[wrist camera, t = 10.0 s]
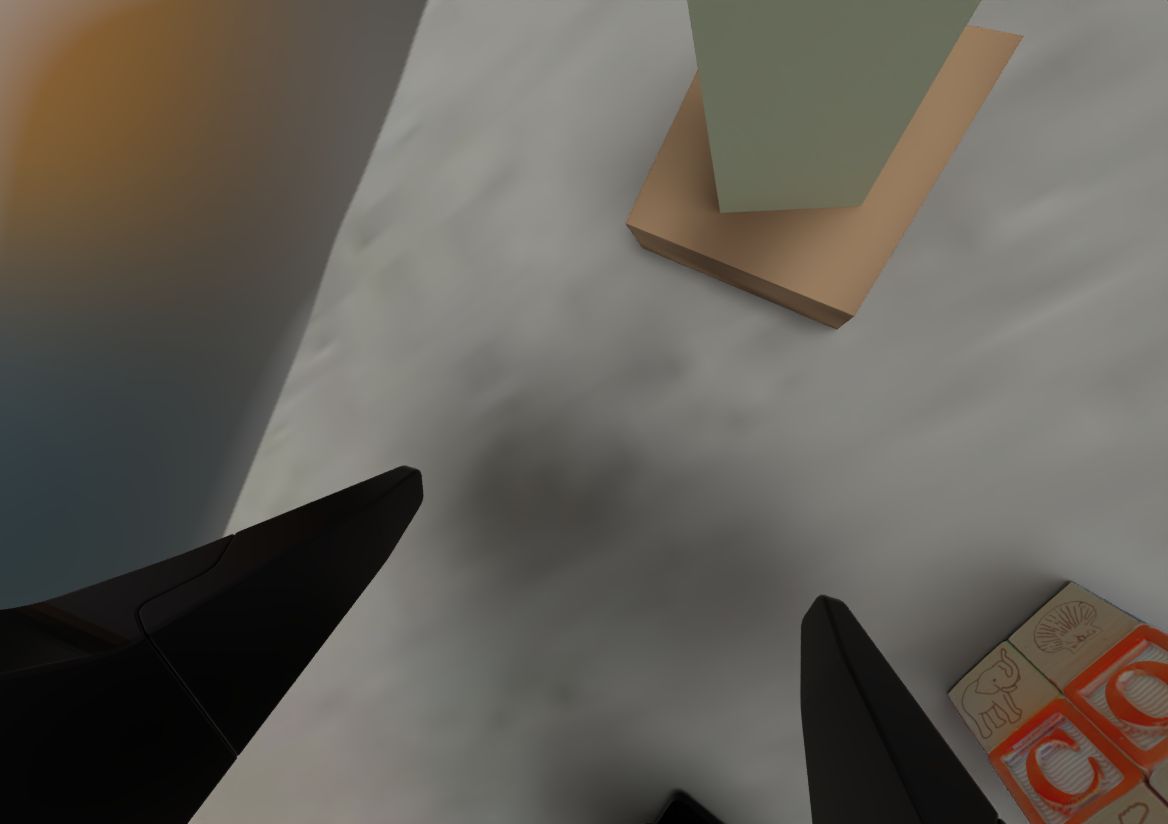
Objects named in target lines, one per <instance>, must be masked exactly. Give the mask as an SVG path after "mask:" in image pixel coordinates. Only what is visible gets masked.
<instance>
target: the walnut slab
mask: <svg viewBox="0 0 1168 824" xmlns="http://www.w3.org/2000/svg"><path fill="white" fill-rule="evenodd" d="M1022 38H1023V36H1022V35H1017V34H1011V33H1006V32H1001V31H996V30H991V29H985V28H980V27H975V26H970V25H966V27H965V29H964V30H963V32H962V34H961V35H960V37H959V39H958V41H957V42H956V44H955V46H954V47H953V49H952V51H951V53H950V54H949V56H948V58H947V59H946V61H945V63H944V65H943V66H942V68H941V70H940V71H939V73H938V75H937V77H936V78H935V80H934V82H933V83H932V85H931V87H930V89H929V90H928V92H927V94H926V96H925V97H924V99H923V101H922V102H921V104H920V106H919V108H918V109H917V111H916V113H915V114H914V116H913V118H912V120H911V121H910V123H909V125H908V126H907V128H906V130H905V132H904V133H903V135H902V137H901V138H900V140H899V142H898V144H897V145H896V147H895V149H894V150H893V152H892V154H891V156H890V157H889V159H888V161H887V162H886V164H885V166H884V168H883V169H882V171H881V173H880V174H879V176H878V178H877V180H876V181H875V183H874V185H873V186H872V188H871V190H870V192H869V193H868V195H867V197H866V198H865V200H864V202H863V204H862V205H861V206H852V207H832V208H812V209H791V210H771V211H751V212H731V213H720V208H719V202H718V195H717V189H716V182H715V176H714V169H713V163H712V157H711V150H710V144H709V137H708V131H707V124H706V118H705V111H704V105H703V99H702V92H701V86H700V79H699V73H698V71H697V73H696V75H695V77H694V79H693V81H692V83H691V86H690V88H689V90H688V92H687V94H686V96H685V98H684V100H683V102H682V105H681V107H680V109H679V111H678V113H677V115H676V117H675V119H674V122H673V124H672V126H671V128H670V130H669V132H668V134H667V136H666V138H665V141H664V143H663V145H662V147H661V149H660V151H659V153H658V155H657V157H656V160H655V162H654V164H653V166H652V168H651V170H650V172H649V174H648V176H647V179H646V181H645V183H644V185H643V187H642V189H641V191H640V193H639V196H638V198H637V200H636V202H635V204H634V206H633V208H632V210H631V212H630V215H629V217H628V219H627V221H626V225H627V226H628V228H629V229H630V230H631V232H632V233H633V235H634V236H635V237H636V239H637V240H638V242H639V243H640V245H641V246H642V247H643V248H645V249H647V250H650V251H652V252H654V253H657V254H659V255H662V256H664V257H666V258H669V259H671V260H673V261H676V262H678V263H681V264H683V265H685V266H688V267H690V268H693V269H695V270H697V271H700V272H702V273H704V274H707V275H709V276H712V277H714V278H716V279H719V280H721V281H724V282H726V283H728V284H731V285H733V286H735V287H738V288H740V289H743V290H745V291H747V292H750V293H752V294H755V295H757V296H759V297H762V298H764V299H766V300H769V301H771V302H774V303H776V304H778V305H781V306H783V307H786V308H788V309H790V310H793V311H795V312H797V313H800V314H802V315H805V316H807V317H809V318H812V319H814V320H817V321H819V322H821V323H824V324H826V325H828V326H831V327H833V328H836V329H838V328H840V327H841V326H842V325H843V324H845V323H846V322H847V321H849V320H850V319H851V318H852V317H854V316H855V314H856V312H857V311H858V309H859V307H860V306H861V304H862V302H863V301H864V299H865V298H866V296H867V294H868V293H869V291H870V289H871V288H872V286H873V284H874V283H875V281H876V279H877V278H878V276H879V274H880V273H881V271H882V269H883V268H884V266H885V264H886V263H887V261H888V260H889V258H890V256H891V255H892V253H893V251H894V250H895V248H896V246H897V245H898V243H899V241H900V240H901V238H902V236H903V235H904V233H905V231H906V230H907V228H908V226H909V225H910V223H911V221H912V220H913V218H914V217H915V215H916V213H917V212H918V210H919V208H920V207H921V205H922V203H923V202H924V200H925V198H926V197H927V195H928V193H929V192H930V190H931V188H932V187H933V185H934V183H935V182H936V180H937V179H938V177H939V175H940V174H941V172H942V170H943V169H944V167H945V165H946V164H947V162H948V160H949V159H950V157H951V155H952V154H953V152H954V150H955V149H956V147H957V145H958V144H959V142H960V140H961V139H962V137H963V136H964V134H965V132H966V131H967V129H968V127H969V126H970V124H971V122H972V121H973V119H974V117H975V116H976V114H977V112H978V111H979V109H980V107H981V106H982V104H983V102H984V101H985V99H986V98H987V96H988V94H989V93H990V91H991V89H992V88H993V86H994V84H995V83H996V81H997V79H998V78H999V76H1000V74H1001V73H1002V71H1003V69H1004V68H1005V66H1006V64H1007V63H1008V61H1009V59H1010V58H1011V56H1012V55H1013V53H1014V51H1015V50H1016V48H1017V46H1018V45H1019V43H1020V41H1021V40H1022Z"/></svg>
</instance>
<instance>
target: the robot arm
mask: <svg viewBox="0 0 1168 824" xmlns="http://www.w3.org/2000/svg"><path fill="white" fill-rule="evenodd" d="M422 501H423V485H422V475H421V472H420V471H419V470H418V469H415V468H412V467H409V466H400V467H397V468H395V469H393V470H390V471H388V472H385V473H383V474H380V475H378V476H375V477H373V478H370V479H368V480H365V481H363V482H360V483H358V484H355V485H353V486H350V487H348V488H345V489H343V490H341V491H338V492H336V493H333V494H331V495H328V496H326V497H323V498H321V499H318V500H316V501H313V502H311V503H308V504H306V505H303V506H301V507H298V508H296V509H293V510H291V511H289V512H286V513H284V514H281V515H279V516H276V517H274V518H271V519H269V520H266V521H264V522H261V523H259V524H256V525H254V526H251V527H249V528H246V529H244V530H241V531H239V532H237V533H236V534H235V535H234V534H231V535H229V536H226V537H224V538H221V539H219V540H216V541H214V542H212V543H209V544H206V545H204V546H201V547H199V548H196V549H193V550H191V551H188V552H186V553H184V554H181V555H178V556H175V557H172V558H169V559H167V560H164V561H161V562H158V563H155V564H152V565H150V566H147V567H144V568H141V569H138V570H135V571H133V572H129V573H127V574H124V575H120V576H118V577H114V578H112V579H109V580H106V581H103V582H100V583H97V584H94V585H91V586H88V587H85V588H82V589H79V590H76V591H74V592H70V593H68V594H65V595H62V596H59V597H56V598H53V599H49V600H46V601H42V602H38V603H34V604H30V605H26V606H21V607H16V608H9V609H1V610H0V824H188V822H189V821H190V820H191V818H192V817H193V816H194V814H195V813H196V812H197V811H198V809H199V808H200V807H201V805H202V804H203V803H204V801H205V800H206V799H207V797H208V796H209V795H210V793H211V792H212V791H213V789H214V788H215V787H216V785H217V784H218V783H219V782H220V780H221V779H222V778H223V776H224V775H225V774H226V772H227V771H228V770H229V768H230V767H231V766H232V764H233V763H234V762H235V760H236V759H237V756H238V755H240V753H241V752H242V751H243V749H244V748H245V747H246V745H247V744H248V743H249V741H250V740H251V739H252V738H253V736H254V735H255V734H256V732H257V731H258V730H259V728H260V727H261V726H262V724H263V723H264V722H265V720H266V719H267V718H268V716H269V715H270V714H271V712H272V711H273V710H274V709H275V707H276V706H277V705H278V703H279V702H280V701H281V699H282V698H283V697H284V695H285V694H286V693H287V691H288V690H289V689H290V687H291V686H292V685H293V683H294V682H295V681H296V680H297V678H298V677H299V676H300V674H301V673H302V672H303V670H304V669H305V668H306V666H307V665H308V664H309V662H310V661H311V660H312V658H313V657H314V656H315V654H316V653H317V652H318V651H319V649H320V648H321V647H322V645H323V644H324V643H325V641H326V640H327V639H328V637H329V636H330V635H331V633H332V632H333V631H334V629H335V628H336V627H337V625H338V624H339V623H340V622H341V620H342V619H343V618H344V616H345V615H346V614H347V612H348V611H349V610H350V608H351V607H352V606H353V604H354V603H355V602H356V600H357V599H358V598H359V596H360V595H361V594H362V593H363V591H364V590H365V589H366V587H367V586H368V585H369V583H370V582H371V581H372V579H373V578H374V577H375V575H376V574H377V573H378V571H379V570H380V569H381V567H382V566H383V565H384V563H385V562H386V561H387V559H388V558H389V556H390V555H391V553H392V551H393V550H394V548H395V547H396V545H397V543H398V542H399V540H400V538H401V537H402V535H403V533H404V532H405V530H406V528H407V527H408V525H409V524H410V522H411V520H412V519H413V517H414V515H415V514H416V512H417V510H418V509H419V507H420V505H421V503H422ZM800 694H801V716H802V727H803V737H804V746H805V756H806V765H807V775H808V785H809V794H810V804H811V813H812V823H813V824H1006V823H1005V822H1004V821H1003V820H1002V819H998V813H997V811H996V810H995V809H994V807H993V806H992V805H991V803H990V802H989V800H988V799H987V798H986V796H985V795H984V794H983V792H982V791H981V789H980V788H979V787H978V785H977V784H976V783H975V781H974V780H973V778H972V777H971V776H970V774H969V773H968V772H967V770H966V769H965V767H964V766H963V765H962V763H961V762H960V761H959V759H958V758H957V756H956V755H955V754H954V752H953V751H952V750H951V748H950V747H949V745H948V744H947V743H946V741H945V740H944V739H943V737H942V736H941V734H940V733H939V732H938V730H937V729H936V728H935V726H934V725H933V723H932V722H931V721H930V719H929V718H928V717H927V715H926V714H925V713H924V711H923V710H922V708H921V707H920V706H919V704H918V703H917V702H916V700H915V699H914V697H913V696H912V695H911V693H910V692H909V691H908V689H907V688H906V686H905V685H904V684H903V682H902V681H901V680H900V678H899V677H898V675H897V674H896V673H895V671H894V670H893V669H892V667H891V666H890V664H889V663H888V662H887V660H886V659H885V658H884V656H883V655H882V653H881V652H880V651H879V649H878V648H877V647H876V645H875V644H874V642H873V641H872V640H871V638H870V637H869V636H868V634H867V633H866V631H865V630H864V629H863V627H862V626H861V625H860V623H859V622H858V621H857V619H856V618H855V616H854V615H853V614H852V612H851V611H850V610H849V608H848V607H847V605H846V604H845V603H844V602H843V601H841V600H839V599H836V598H833V597H829V596H826V595H819V596H818V597H817V598H816V599H815V601H814V602H813V604H812V605H811V607H810V608H809V610H808V611H807V613H806V614H805V616H804V618H803V620H802V624H801V690H800ZM678 806H681V807H683V808H684V809H685V810H683V809H680V808H679V807H678ZM647 824H651V823H647ZM654 824H720V823H719V822H718V821H716V820H715V819H714V818H713V817H712V816H710V815H709V814H708V813H707V812H706V811H704V810H703V809H702V808H701V807H700V806H698V805H697V804H696V803H695V802H693V801H692V800H691V799H690V798H689V797H687V796H686V795H684V794H682V793H675V794H674V795H673V796H672V797H671V798H670V800H669V801H668V803H667V804H666V806H665V807H664V809H663V810H662V812H661V813H660V815H659V816H658V818H657V819H656V821H655V822H654Z"/></svg>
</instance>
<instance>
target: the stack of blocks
mask: <svg viewBox="0 0 1168 824" xmlns="http://www.w3.org/2000/svg"><path fill="white" fill-rule="evenodd" d="M948 697H949V698H950V699H951V701H952V703H953V704H954V706H955V708H956V709H957V711H958V712H959V714H960V715H961V717H962V719H963V720H964V722H965V723H966V725H967V726H968V728H969V729H970V730H971V732H972V733H973V735H974V736H975V737H976V739H977V741H978V742H979V743H980V745H981V746H982V747H983V749H984V750H985V752H986V753H987V754H988V760H989V762H990V763H991V765H992V766H993V768H994V769H995V771H996V772H997V774H998V775H999V777H1000V778H1001V780H1002V781H1003V783H1004V784H1005V786H1006V787H1007V789H1008V790H1009V792H1010V793H1011V795H1012V796H1013V798H1014V799H1015V801H1016V802H1017V804H1018V806H1019V807H1020V809H1021V810H1022V812H1023V813H1024V815H1025V816H1026V818H1027V819H1028V821H1029V822H1030V824H1168V635H1167V634H1166V633H1164V632H1162V631H1160V630H1159V629H1157V628H1155V627H1153V626H1151V625H1148V624H1147V623H1145V622H1144V621H1142V620H1140V619H1138V618H1136V617H1134V616H1133V615H1131V614H1129V613H1127V612H1125V611H1124V610H1122V609H1120V608H1118V607H1117V606H1115V605H1113V604H1112V603H1110V602H1108V601H1106V600H1104V599H1102V598H1100V597H1099V596H1097V595H1095V594H1094V593H1092V592H1090V591H1089V590H1087V589H1085V588H1084V587H1082V586H1080V585H1079V584H1077V583H1075V582H1071V583H1069V584H1068V585H1067V586H1066V587H1065V588H1064V589H1063V590H1062V591H1061V592H1059V593H1058V594H1057V595H1056V596H1055V597H1053V598H1052V599H1051V600H1050V601H1049V602H1048V603H1047V604H1046V605H1044V606H1043V607H1042V608H1041V609H1040V610H1039V611H1038V612H1037V613H1036V614H1035V615H1033V616H1032V617H1031V618H1030V619H1029V620H1028V621H1027V622H1026V623H1025V624H1024V625H1023V626H1021V627H1020V628H1019V629H1018V630H1017V631H1016V632H1015V633H1014V634H1013V635H1012V636H1011V637H1010V638H1009V639H1008V640H1007V641H1004V642H1002V643H1001V644H1000V645H998V646H997V647H996V648H995V649H994V650H993V651H992V652H991V653H990V654H989V655H987V656H986V657H985V658H984V659H983V660H982V661H981V662H980V663H979V664H978V665H977V666H976V667H975V668H974V669H972V670H971V671H970V672H969V673H968V674H967V675H965V676H964V677H963V679H962V680H961V681H960V682H959V683H958V684H957V685H956V686H955V687H954V688H953V689H952V690H951V691H950V693H949V694H948Z"/></svg>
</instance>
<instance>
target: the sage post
mask: <svg viewBox="0 0 1168 824" xmlns="http://www.w3.org/2000/svg"><path fill="white" fill-rule="evenodd" d="M980 1H981V0H687V2H688V8H689V15H690V21H691V28H692V34H693V40H694V47H695V53H696V60H697V66H698V73H699V79H700V86H701V92H702V99H703V105H704V111H705V118H706V124H707V131H708V137H709V144H710V150H711V157H712V163H713V169H714V176H715V182H716V189H717V195H718V202H719V208H720V213H731V212H751V211H771V210H791V209H812V208H832V207H852V206H861V205H862V204H863V202H864V200H865V198H866V197H867V195H868V193H869V192H870V190H871V188H872V186H873V185H874V183H875V181H876V180H877V178H878V176H879V174H880V173H881V171H882V169H883V168H884V166H885V164H886V162H887V161H888V159H889V157H890V156H891V154H892V152H893V150H894V149H895V147H896V145H897V144H898V142H899V140H900V138H901V137H902V135H903V133H904V132H905V130H906V128H907V126H908V125H909V123H910V121H911V120H912V118H913V116H914V114H915V113H916V111H917V109H918V108H919V106H920V104H921V102H922V101H923V99H924V97H925V96H926V94H927V92H928V90H929V89H930V87H931V85H932V83H933V82H934V80H935V78H936V77H937V75H938V73H939V71H940V70H941V68H942V66H943V65H944V63H945V61H946V59H947V58H948V56H949V54H950V53H951V51H952V49H953V47H954V46H955V44H956V42H957V41H958V39H959V37H960V35H961V34H962V32H963V30H964V29H965V27H966V25H967V23H968V22H969V20H970V18H971V17H972V15H973V13H974V11H975V10H976V8H977V6H978V5H979V3H980Z"/></svg>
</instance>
